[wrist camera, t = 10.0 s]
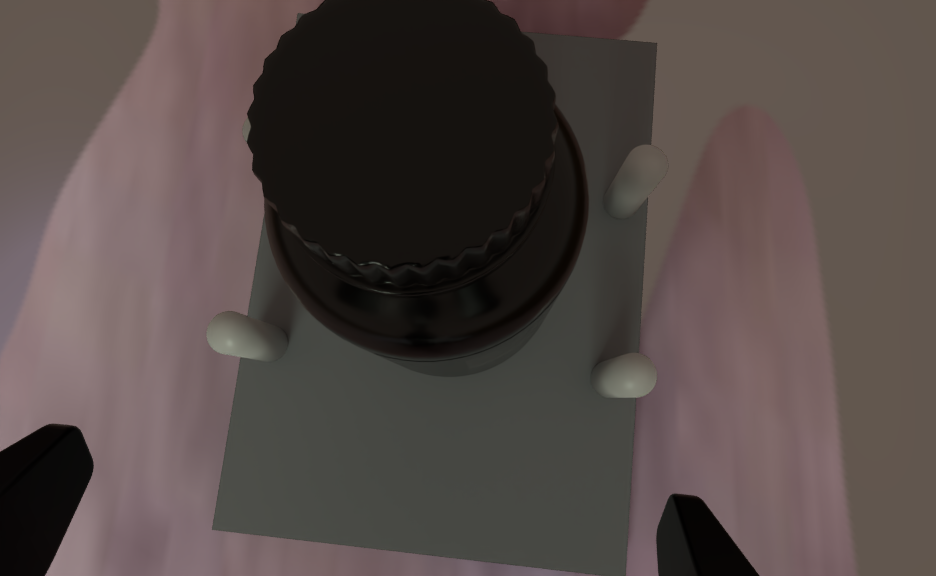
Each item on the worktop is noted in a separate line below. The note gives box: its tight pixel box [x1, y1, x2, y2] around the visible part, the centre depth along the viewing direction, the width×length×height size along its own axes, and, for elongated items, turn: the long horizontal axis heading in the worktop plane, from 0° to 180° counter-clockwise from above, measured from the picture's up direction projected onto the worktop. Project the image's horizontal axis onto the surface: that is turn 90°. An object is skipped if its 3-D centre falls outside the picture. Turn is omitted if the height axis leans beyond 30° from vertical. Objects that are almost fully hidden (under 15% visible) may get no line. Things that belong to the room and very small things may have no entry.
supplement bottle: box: [247, 0, 589, 377], centre depth 15 cm, size 7×7×12 cm
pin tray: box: [207, 13, 668, 576], centre depth 20 cm, size 18×13×5 cm
